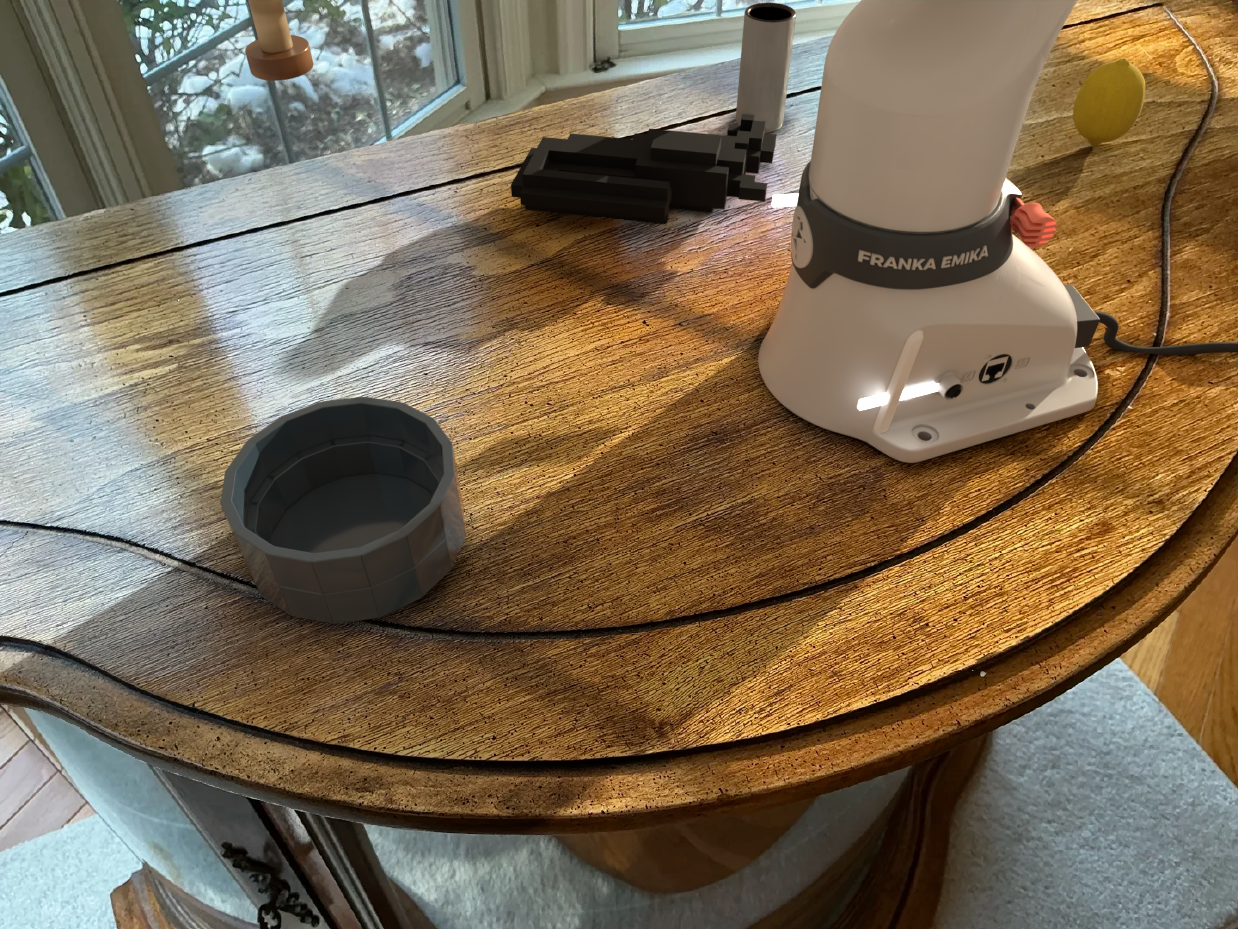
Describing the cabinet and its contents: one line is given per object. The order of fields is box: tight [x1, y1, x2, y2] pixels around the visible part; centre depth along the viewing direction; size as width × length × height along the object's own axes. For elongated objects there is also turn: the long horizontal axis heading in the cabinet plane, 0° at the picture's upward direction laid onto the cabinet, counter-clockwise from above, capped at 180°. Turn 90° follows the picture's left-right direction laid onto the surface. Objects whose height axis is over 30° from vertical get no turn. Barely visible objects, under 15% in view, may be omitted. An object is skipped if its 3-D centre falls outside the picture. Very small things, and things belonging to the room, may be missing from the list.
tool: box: [510, 114, 778, 226], centre depth 83 cm, size 5×20×15 cm
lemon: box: [1072, 57, 1146, 147], centre depth 88 cm, size 6×6×8 cm
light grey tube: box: [735, 2, 797, 133], centre depth 91 cm, size 4×4×10 cm
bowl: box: [220, 396, 467, 625], centre depth 55 cm, size 12×12×6 cm
